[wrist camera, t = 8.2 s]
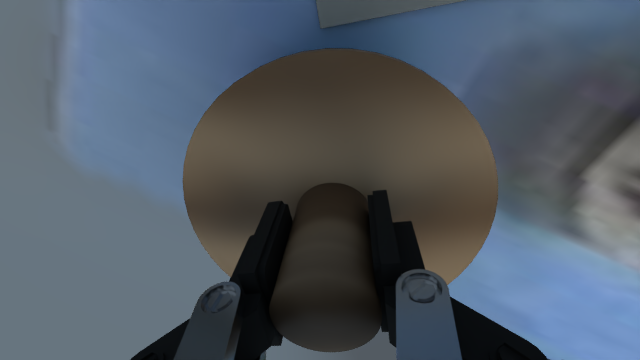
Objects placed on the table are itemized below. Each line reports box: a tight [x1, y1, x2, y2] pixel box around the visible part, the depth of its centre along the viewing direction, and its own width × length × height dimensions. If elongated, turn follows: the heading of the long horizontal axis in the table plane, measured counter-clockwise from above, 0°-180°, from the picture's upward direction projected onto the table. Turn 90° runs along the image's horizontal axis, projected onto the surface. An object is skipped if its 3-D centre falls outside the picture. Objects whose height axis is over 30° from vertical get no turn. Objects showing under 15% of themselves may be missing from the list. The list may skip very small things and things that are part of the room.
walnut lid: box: [183, 48, 498, 352], centre depth 11 cm, size 13×13×6 cm
